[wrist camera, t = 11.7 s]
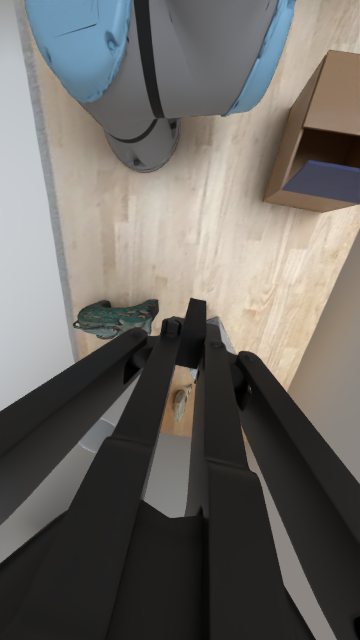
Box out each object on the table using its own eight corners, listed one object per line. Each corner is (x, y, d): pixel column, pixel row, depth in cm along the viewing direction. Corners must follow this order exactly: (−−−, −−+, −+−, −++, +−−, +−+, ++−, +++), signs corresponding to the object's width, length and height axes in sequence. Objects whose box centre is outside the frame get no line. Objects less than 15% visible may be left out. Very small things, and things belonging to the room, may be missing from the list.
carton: (322, 212, 39) (364, 203, 29) (262, 201, 40) (281, 188, 30) (364, 118, 33) (435, 63, 23) (291, 106, 34) (329, 48, 23)
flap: (363, 201, 29) (362, 204, 29) (282, 187, 30) (281, 190, 30) (417, 177, 22) (416, 181, 22) (308, 159, 23) (307, 163, 23)
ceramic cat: (163, 296, 51) (140, 327, 33) (165, 317, 54) (144, 357, 36) (97, 295, 54) (41, 324, 36) (101, 315, 56) (52, 352, 38)
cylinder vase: (116, 348, 61) (63, 413, 38) (153, 349, 59) (120, 418, 36) (123, 378, 66) (78, 452, 43) (157, 380, 64) (130, 458, 41)
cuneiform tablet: (191, 383, 63) (190, 409, 67) (179, 380, 64) (179, 406, 69) (185, 399, 56) (185, 426, 61) (172, 395, 58) (172, 422, 62)
